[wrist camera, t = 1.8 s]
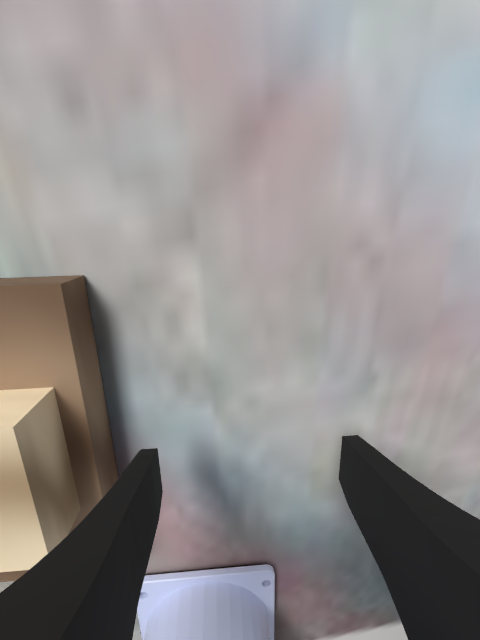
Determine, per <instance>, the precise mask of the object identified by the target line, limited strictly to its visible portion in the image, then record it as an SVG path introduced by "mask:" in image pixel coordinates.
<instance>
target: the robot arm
mask: <svg viewBox="0 0 480 640" xmlns="http://www.w3.org/2000/svg"><path fill="white" fill-rule="evenodd" d="M339 481H340V483H341V486H342V489H343V492H344V495H345V498H346V500H347V503H348V505H349V508H350V510H351V512H352V514H353V516H354V518H355V520H356V522H357V524H358V526H359V528H360V530H361V532H362V534H363V536H364V538H365V540H366V542H367V544H368V546H369V548H370V550H371V552H372V554H373V556H374V558H375V560H376V562H377V564H378V566H379V568H380V570H381V573H382V575H383V577H384V579H385V581H386V584H387V586H388V589H389V591H390V594H391V596H392V599H393V601H394V604H395V606H396V609H397V611H398V614H399V616H400V619H401V622H402V624H403V627H404V629H405V632H406V634H407V637H408V640H480V520H479V519H478V518H476V517H474V516H472V515H470V514H469V513H467V512H465V511H463V510H462V509H460V508H459V507H457V506H455V505H454V504H452V503H450V502H449V501H447V500H445V499H444V498H442V497H441V496H439V495H437V494H436V493H434V492H433V491H431V490H430V489H429V488H427V487H426V486H424V485H423V484H421V483H420V482H418V481H417V480H415V479H414V478H413V477H411V476H410V475H409V474H407V473H406V472H404V471H403V470H402V469H400V468H399V467H398V466H396V465H395V464H394V463H393V462H391V461H390V460H389V459H387V458H386V457H385V456H384V455H382V454H381V453H380V452H378V451H377V450H376V449H375V448H373V447H372V446H371V445H370V444H368V443H367V442H366V441H365V440H363V439H362V438H361V437H359V436H358V435H354V436H342V447H341V459H340V470H339ZM162 492H163V491H162V483H161V474H160V466H159V458H158V449H157V448H156V449H141V450H140V451H139V452H138V454H137V455H136V456H135V458H134V459H133V460H132V462H131V463H130V464H129V466H128V467H127V468H126V470H125V471H124V472H123V473H122V475H121V476H120V477H119V479H118V480H117V481H116V482H115V483H114V485H113V486H112V487H111V488H110V490H109V491H108V492H107V493H106V494H105V496H104V497H103V498H102V499H101V500H100V501H99V502H98V504H97V505H96V506H95V507H94V508H93V509H92V510H91V511H90V513H89V514H88V515H87V516H86V517H85V518H84V519H83V520H82V521H81V522H80V523H79V524H78V525H77V526H76V527H75V528H74V529H73V530H72V531H71V532H70V533H69V534H68V535H67V536H66V537H65V538H64V539H63V540H62V541H61V542H60V543H59V544H58V545H57V546H56V547H55V548H54V549H53V550H51V551H50V552H49V553H48V554H47V555H46V556H45V557H43V558H42V559H41V560H40V561H39V562H38V563H37V564H35V565H34V566H33V567H32V568H31V569H30V570H28V571H27V572H26V573H25V574H24V575H22V576H21V577H20V578H19V579H17V580H16V581H15V582H14V583H12V584H11V585H10V586H9V587H7V588H6V589H5V590H4V591H2V592H1V593H0V640H132V637H133V631H134V625H135V619H136V613H138V619H139V624H140V630H141V636H142V640H274V599H275V574H274V569H273V567H272V566H271V565H268V564H264V565H253V566H242V567H231V568H220V569H209V570H199V571H188V572H177V573H166V574H155V575H145V573H146V569H147V565H148V561H149V557H150V553H151V549H152V545H153V541H154V537H155V533H156V529H157V525H158V520H159V514H160V507H161V499H162Z"/></svg>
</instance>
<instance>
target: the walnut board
mask: <svg viewBox="0 0 480 640" xmlns="http://www.w3.org/2000/svg"><path fill="white" fill-rule="evenodd" d="M50 387H54V391H55V395H56V400H57V404H58V409H59V413H60V417H61V422H62V426H63V431H64V435H65V440H66V444H67V449H68V453H69V458H70V462H71V467H72V471H73V476H74V480H75V485H76V489H77V494H78V498H79V503H80V507H81V509H80V511H79V513H78V515H77V517H76V519H75V521H74V523H73V525H72V527H71V529H70V531H69V533H70V532H71V531H72V530H73V529H74V528H75V527H76V526H77V525H78V524H79V523H80V522H81V521H82V520H83V519H84V518H85V517H86V516H87V515H88V514H89V513H90V511H91V510H92V509H93V508H94V507H95V506H96V505H97V504H98V502H99V501H100V500H101V499H102V498H103V497H104V496H105V494H106V493H107V492H108V491H109V490H110V488H111V487H112V486H113V485H114V483H115V482H116V481H117V480H118V479H119V477H118V471H117V466H116V460H115V454H114V448H113V442H112V436H111V430H110V425H109V419H108V413H107V407H106V401H105V395H104V389H103V384H102V378H101V372H100V366H99V360H98V354H97V348H96V343H95V337H94V331H93V325H92V319H91V313H90V307H89V302H88V296H87V290H86V284H85V278H84V275H82V276H53V277H24V278H0V390H14V389H32V388H50ZM27 571H28V570H22V571H11V572H0V582H6V581H16V580H17V579H19V578H20V577H21V576H22V575H24V574H25V573H26V572H27Z"/></svg>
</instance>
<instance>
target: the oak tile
mask: <svg viewBox="0 0 480 640" xmlns="http://www.w3.org/2000/svg"><path fill="white" fill-rule="evenodd" d="M80 509H81V507H80V503H79V498H78V494H77V489H76V485H75V480H74V476H73V471H72V467H71V462H70V458H69V453H68V449H67V444H66V440H65V435H64V431H63V426H62V422H61V417H60V413H59V409H58V404H57V400H56V395H55V391H54V387H50V388H32V389H14V390H0V572H11V571H22V570H30V569H31V568H32V567H33V566H34V565H35V564H37V563H38V562H39V561H40V560H41V559H42V558H43V557H45V556H46V555H47V554H48V553H49V552H50V551H51V550H53V549H54V548H55V547H56V546H57V545H58V544H59V543H60V542H61V541H62V540H63V539H64V538H65V537H66V536H67V535H68V534H69V531H70V529H71V527H72V525H73V523H74V521H75V519H76V517H77V515H78V513H79V511H80Z"/></svg>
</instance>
